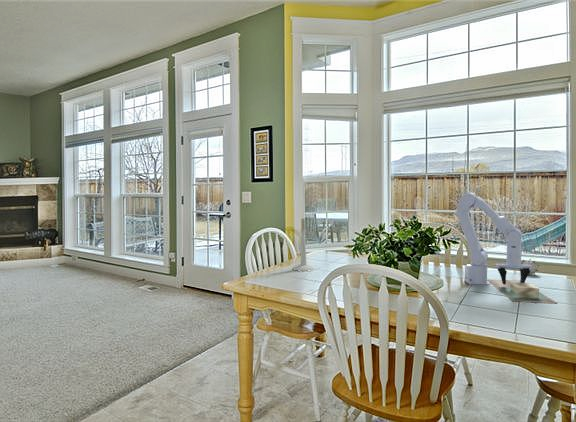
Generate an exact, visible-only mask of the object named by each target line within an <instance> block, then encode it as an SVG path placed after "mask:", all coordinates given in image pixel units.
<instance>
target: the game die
mask: <svg viewBox="0 0 576 422" xmlns="http://www.w3.org/2000/svg"><path fill="white" fill-rule="evenodd" d="M522 261H523V262H521V264H527V265H532V270H530V273H529V275H532V274H534V275H536V272H539V269H538V267H540V265H539V264H537V263H536V260H532V259H531V258H529V259H527V260H524V259H522Z"/></svg>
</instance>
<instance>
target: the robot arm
mask: <svg viewBox="0 0 576 422" xmlns="http://www.w3.org/2000/svg"><path fill="white" fill-rule="evenodd" d="M456 208H457V209H456V216H457V218H458V221H459V223H460V227H461V229H462V231H463V233H464V236H465V239H466V242H467V244H468V247H469V254H470V257H469V260H470V264H468V263H467V264H465V266H464V281H465V282H466V283H467V284H469V285H484V286H486V285H488V286H489V285H491V283H489V282H488V281H487V279H488V263H487V262H486V261H487V259H488V258H489V255H488V253H487V252H486V251H485V249H484V248H483V246H482V244H481V243H480V240H479V238H478V235H477V232H476V230H475V228H474V225H473V223H472V220H471V216H470V214H469V213H470V211H471V209H472V208H475V209H480V210H481V211H482V212H484V214H485V215H487V216H488V217H489V218H490V219H491V220H492V221H493V226H495V227H496V228H497V230H498V231H500V233H502V234H503V235H504V236H506V240H507V244H506V263H495V269H497V271H498V273H499V275H500V278H501V279H500V280H502V283H503V284H506V280H507V272H508V271H507V269H511V270H512V269H513V270H519V271H520V272H519V274H520V280H519V281H520V283H526V280H527V278H528V276H529V275H530V274H529V273H530V270H532V265H527V264H521V263H522V246H523V245H522V238H523V232H522V231H521V230H520V228H518V226H516V225H513V223H512V222H511V221H509V220H510V219H509V218H508V217H505V216H504V215H499V214H498V213H497V212H496V211H495V210H494V209H493V208H492V207H491V206H490V205H489V204H488V203H487V201H485V200H484V199H483V198H482V197H480V196H479V195H478V194H477V193H475V192H465V193H463V194H462V196H460V198H459V199H458V204H457V207H456Z"/></svg>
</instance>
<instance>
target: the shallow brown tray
mask: <svg viewBox="0 0 576 422" xmlns="http://www.w3.org/2000/svg"><path fill="white" fill-rule="evenodd" d="M487 282H488V283H490V285H492V286H493V287H494V288H496V289H497V290H498V291H500V293H501V294H503V295H504V296H506V298H508V299H509V300H510V301H512V302H515V303H532V304H533V303H535V304H558V302H557V301H555V300H553V299H551V298H550V297H549V296H547V295H545V294H543V293H542V292H541V291H539V298H532V297H517V296H516V295H514V294H513V293H512V292H510V283H520V280H514V279H513V280H511V279H506V284H503V283H502V279H488V278H487Z"/></svg>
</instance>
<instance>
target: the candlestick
mask: <svg viewBox="0 0 576 422" xmlns="http://www.w3.org/2000/svg"><path fill="white" fill-rule="evenodd" d="M300 221H301V227H300V228H301V229H300V230H299V231H300V234H301V246H300V247H301V248H300V250H301V251H300V263H299V264H297V265H295V266H293V267H292V270H293V269H295V270H300V271H307V272H309V271H308V270H313V269H316V267H315V266H313V265H312V264H309V263H308V261H307V249H306V248H307V245H306V236H305V235H306V231H307V230H306V223H305V222H306V219H305V218H301V220H300ZM295 270H294V271H295ZM300 271H299V272H300ZM313 271H314V270H313Z"/></svg>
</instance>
